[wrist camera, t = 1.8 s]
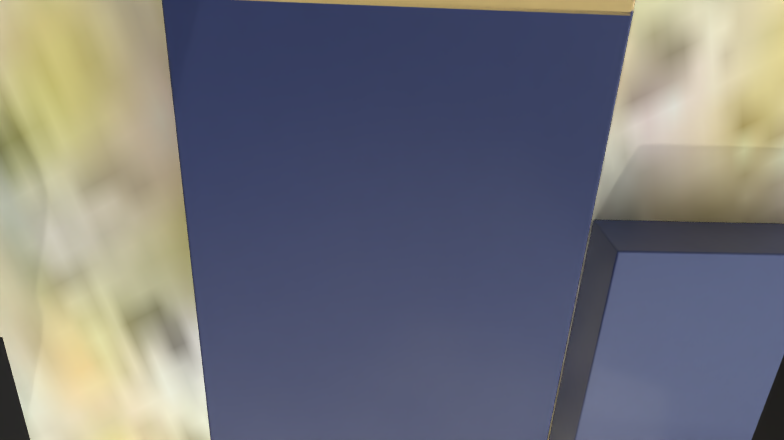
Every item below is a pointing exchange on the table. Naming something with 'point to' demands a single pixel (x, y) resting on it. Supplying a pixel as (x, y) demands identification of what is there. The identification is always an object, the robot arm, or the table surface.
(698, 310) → the navy stack
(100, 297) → the table surface
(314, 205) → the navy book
